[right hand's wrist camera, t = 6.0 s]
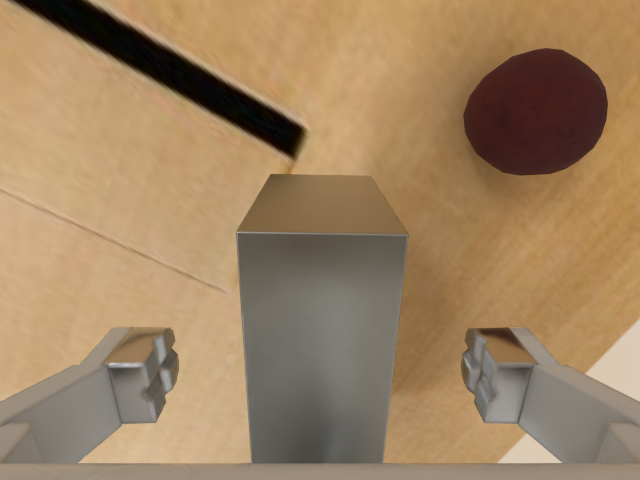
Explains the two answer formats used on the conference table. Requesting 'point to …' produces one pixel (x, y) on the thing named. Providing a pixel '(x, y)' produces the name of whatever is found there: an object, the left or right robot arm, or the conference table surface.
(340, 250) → the bar
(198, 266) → the conference table surface
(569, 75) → the potato
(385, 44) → the conference table surface
